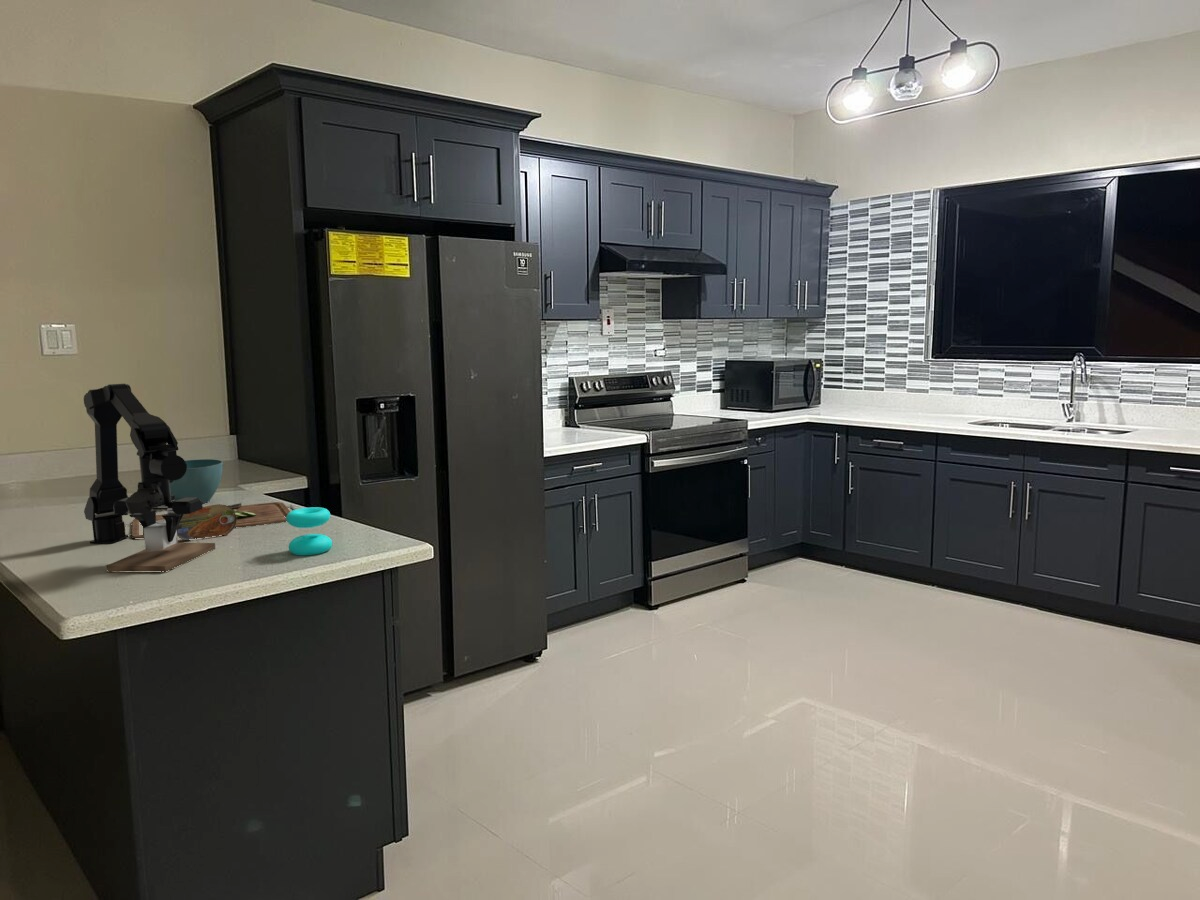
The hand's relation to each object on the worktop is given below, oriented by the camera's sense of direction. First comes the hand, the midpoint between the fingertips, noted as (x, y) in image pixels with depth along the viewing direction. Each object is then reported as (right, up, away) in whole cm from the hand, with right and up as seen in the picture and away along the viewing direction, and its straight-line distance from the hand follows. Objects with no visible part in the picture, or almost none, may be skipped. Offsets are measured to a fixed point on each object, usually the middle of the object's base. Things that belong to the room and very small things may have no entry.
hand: (161, 541), depth 200 cm
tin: (0, -2, +21) cm, 22 cm away
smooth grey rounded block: (0, -1, 0) cm, 1 cm away
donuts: (+33, -3, +6) cm, 34 cm away
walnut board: (0, -4, +1) cm, 4 cm away
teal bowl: (-24, +5, +66) cm, 70 cm away
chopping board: (-6, +1, +41) cm, 41 cm away
